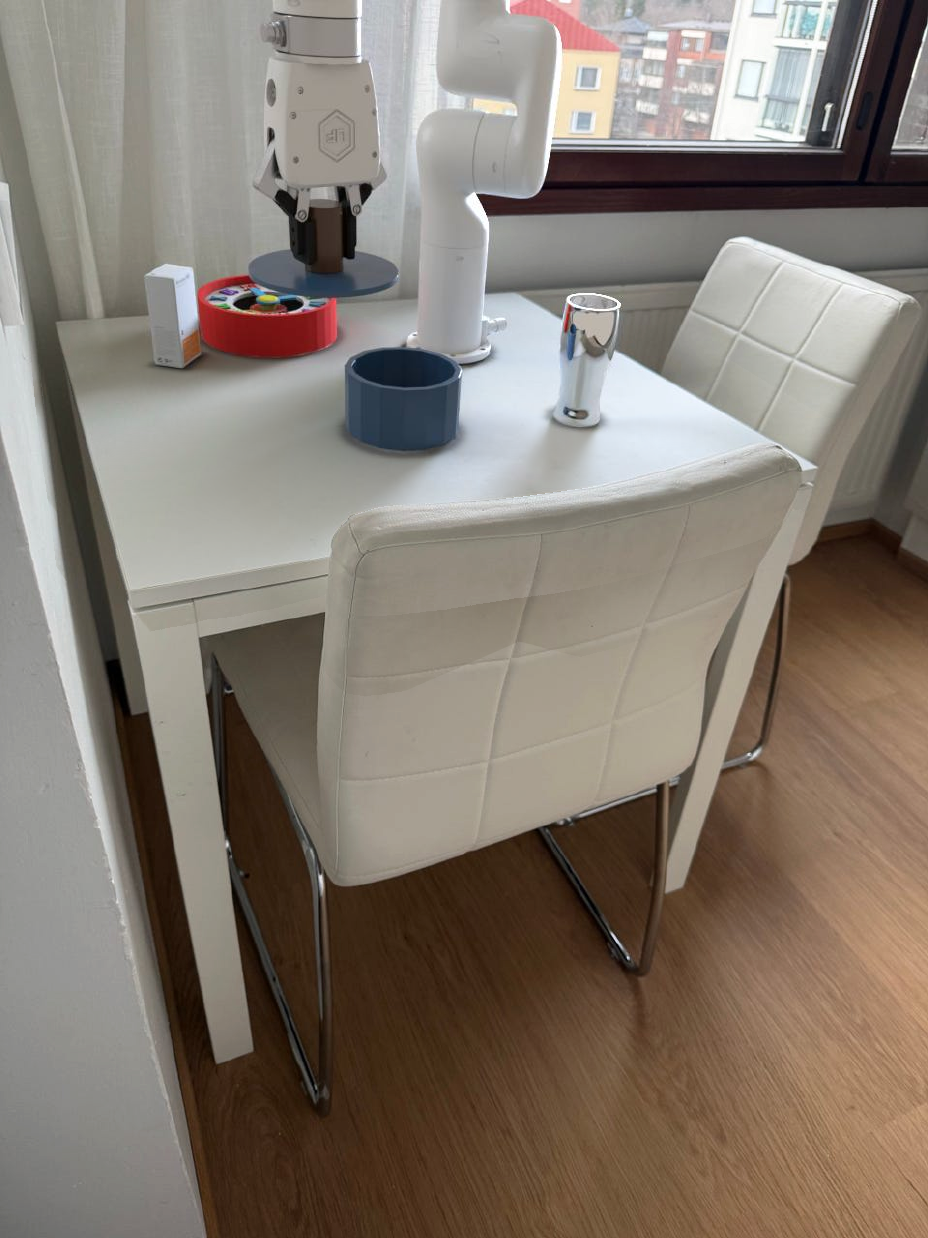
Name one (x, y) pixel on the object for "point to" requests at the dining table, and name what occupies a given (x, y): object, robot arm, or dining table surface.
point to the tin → (402, 398)
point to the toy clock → (264, 319)
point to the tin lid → (324, 263)
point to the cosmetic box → (173, 315)
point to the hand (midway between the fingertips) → (324, 256)
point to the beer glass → (585, 356)
